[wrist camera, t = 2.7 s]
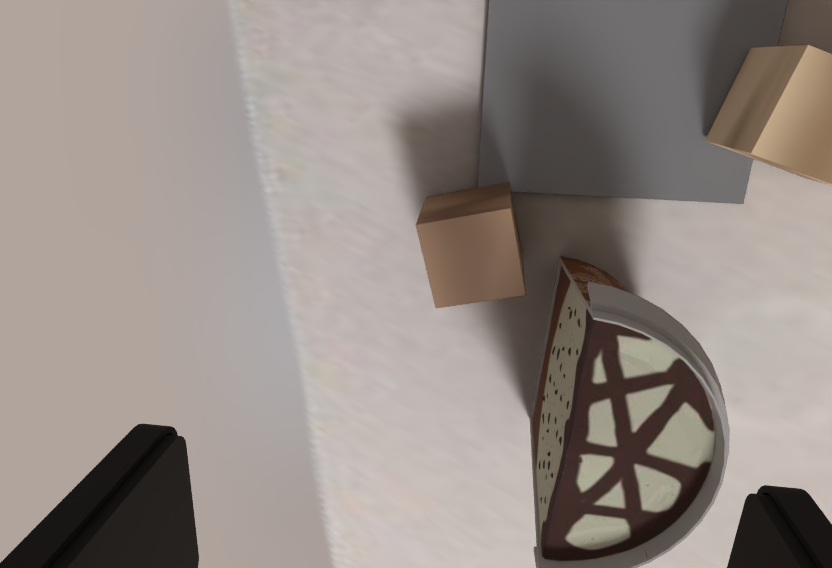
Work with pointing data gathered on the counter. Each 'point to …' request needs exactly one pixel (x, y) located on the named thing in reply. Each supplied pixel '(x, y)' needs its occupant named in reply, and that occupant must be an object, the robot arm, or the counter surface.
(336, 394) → the counter surface
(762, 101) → the oak block
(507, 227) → the walnut cube
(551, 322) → the food container
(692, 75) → the mat
